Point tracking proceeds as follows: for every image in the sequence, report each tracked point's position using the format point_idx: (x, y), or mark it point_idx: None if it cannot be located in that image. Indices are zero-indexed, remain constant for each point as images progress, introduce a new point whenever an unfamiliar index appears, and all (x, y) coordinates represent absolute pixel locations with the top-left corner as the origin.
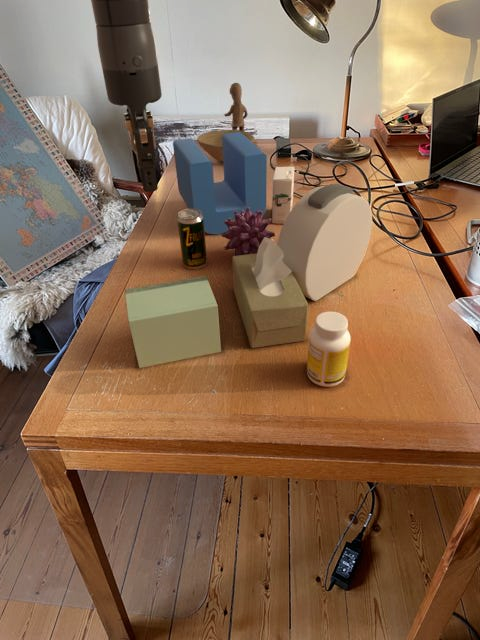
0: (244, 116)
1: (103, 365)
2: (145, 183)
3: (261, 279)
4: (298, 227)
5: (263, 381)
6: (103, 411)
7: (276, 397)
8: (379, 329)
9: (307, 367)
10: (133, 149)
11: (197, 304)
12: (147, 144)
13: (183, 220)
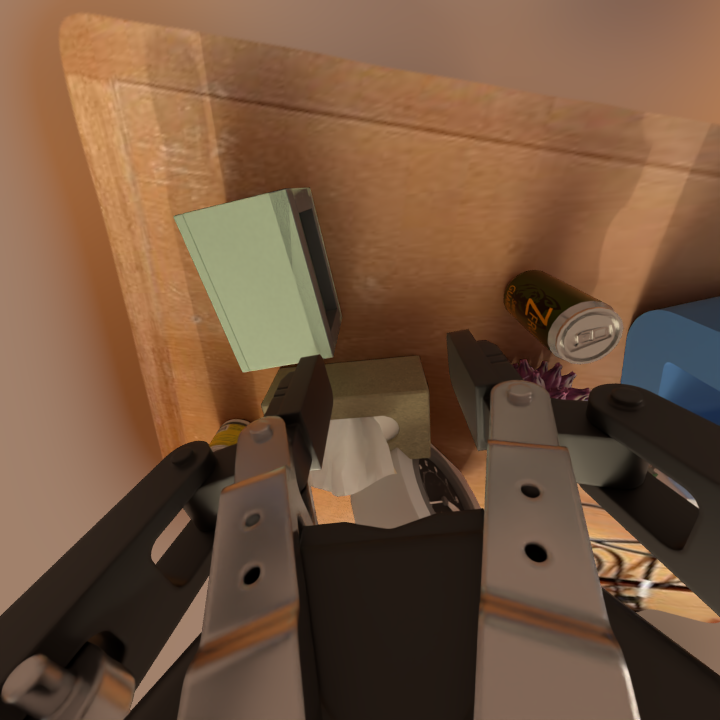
0: None
1: (226, 134)
2: (278, 388)
3: (343, 426)
4: (391, 527)
5: (222, 375)
6: (127, 157)
7: (199, 385)
8: (315, 489)
9: (231, 426)
10: (224, 494)
11: (242, 342)
12: (93, 640)
13: (564, 320)
